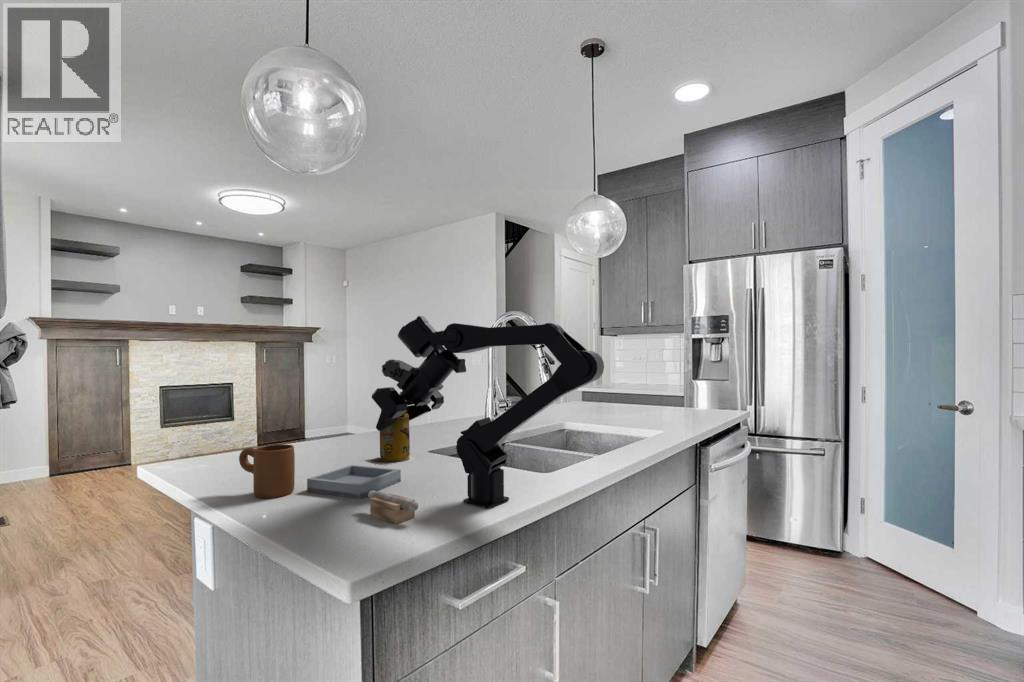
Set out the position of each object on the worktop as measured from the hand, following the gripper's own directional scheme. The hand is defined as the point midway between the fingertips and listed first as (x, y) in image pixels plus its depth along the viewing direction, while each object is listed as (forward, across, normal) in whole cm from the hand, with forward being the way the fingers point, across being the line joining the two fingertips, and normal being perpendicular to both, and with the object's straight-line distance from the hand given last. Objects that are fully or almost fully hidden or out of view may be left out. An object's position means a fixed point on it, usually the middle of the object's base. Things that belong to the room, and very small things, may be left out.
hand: (387, 426), depth 102 cm
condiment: (+4, +1, +6) cm, 7 cm away
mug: (+25, +10, -7) cm, 28 cm away
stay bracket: (+2, +13, +17) cm, 22 cm away
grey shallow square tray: (+15, 0, +3) cm, 16 cm away
